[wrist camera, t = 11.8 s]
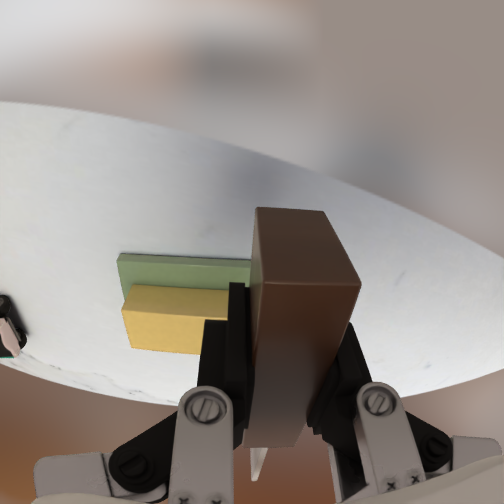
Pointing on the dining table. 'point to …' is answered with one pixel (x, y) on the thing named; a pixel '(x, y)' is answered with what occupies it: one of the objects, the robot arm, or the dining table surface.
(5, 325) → the toy car
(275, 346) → the knife
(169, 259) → the butter dish
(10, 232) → the dining table surface
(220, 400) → the robot arm
